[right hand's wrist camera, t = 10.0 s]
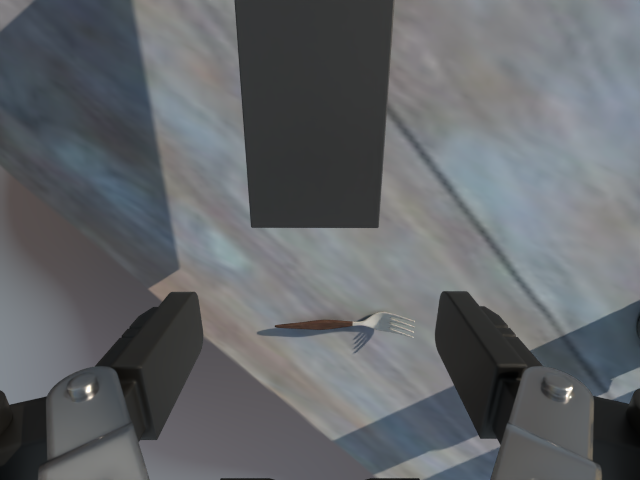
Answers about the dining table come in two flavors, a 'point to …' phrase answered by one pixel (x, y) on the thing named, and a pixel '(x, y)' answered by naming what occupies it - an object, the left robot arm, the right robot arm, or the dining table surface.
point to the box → (314, 109)
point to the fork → (354, 323)
